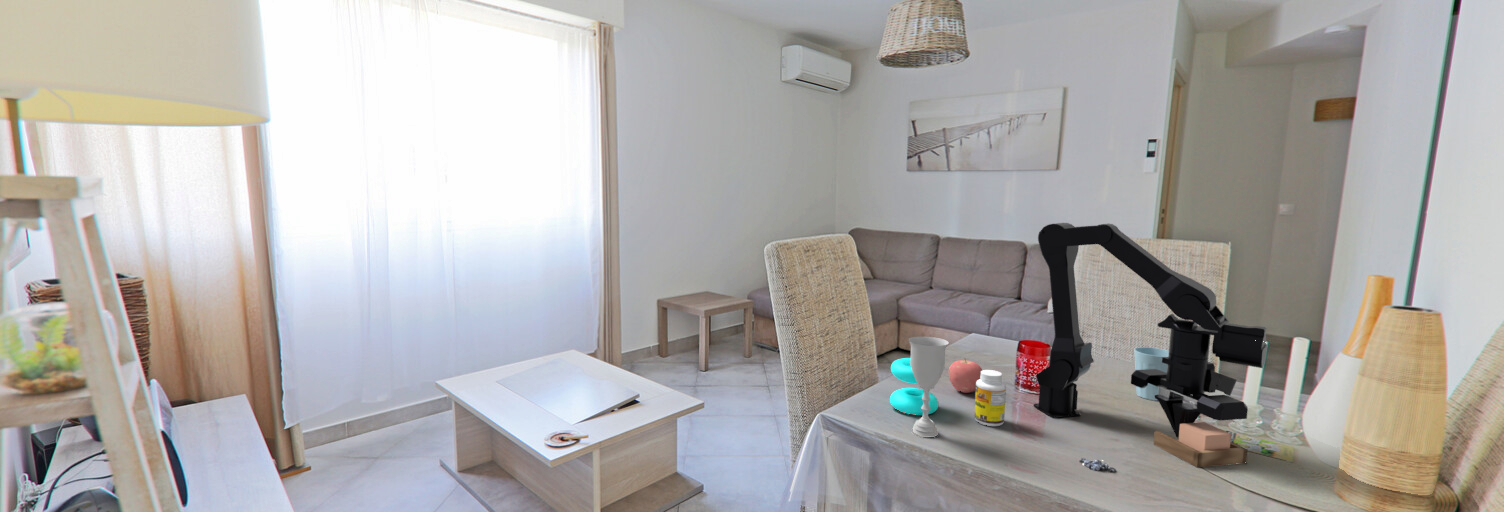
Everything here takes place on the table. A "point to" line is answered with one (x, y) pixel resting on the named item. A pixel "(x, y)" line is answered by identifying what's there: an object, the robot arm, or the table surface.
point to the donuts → (909, 390)
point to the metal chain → (1097, 465)
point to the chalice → (927, 375)
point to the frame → (1201, 452)
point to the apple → (964, 375)
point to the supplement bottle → (990, 398)
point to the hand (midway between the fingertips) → (1180, 437)
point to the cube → (1204, 436)
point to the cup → (1149, 367)
